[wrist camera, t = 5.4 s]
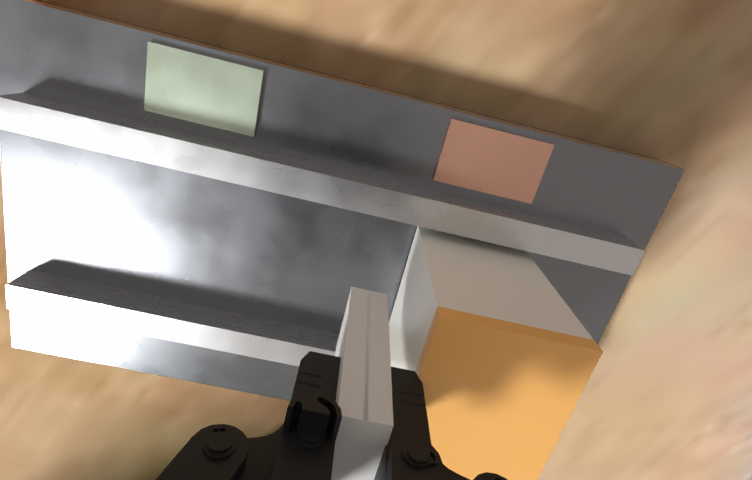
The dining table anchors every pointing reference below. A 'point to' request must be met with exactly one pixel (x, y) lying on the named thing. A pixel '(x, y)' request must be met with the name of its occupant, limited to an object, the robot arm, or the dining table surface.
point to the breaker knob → (488, 353)
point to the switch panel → (265, 200)
